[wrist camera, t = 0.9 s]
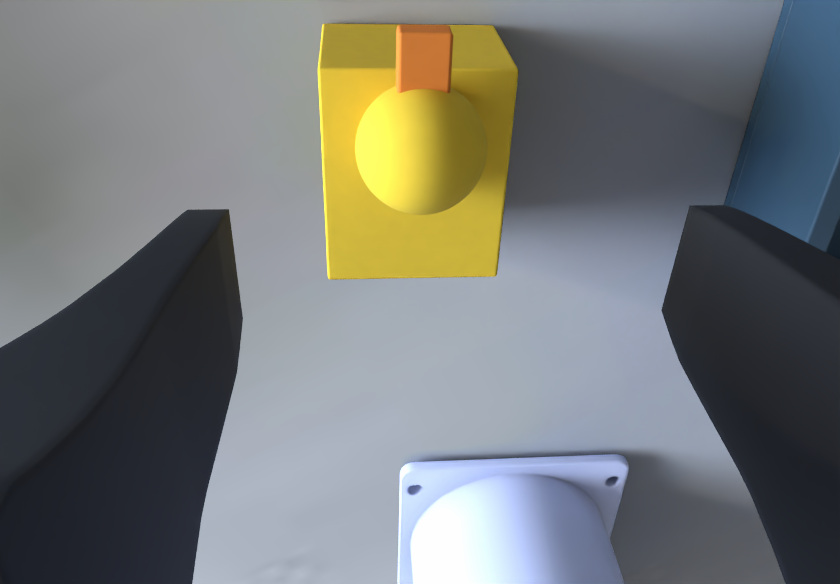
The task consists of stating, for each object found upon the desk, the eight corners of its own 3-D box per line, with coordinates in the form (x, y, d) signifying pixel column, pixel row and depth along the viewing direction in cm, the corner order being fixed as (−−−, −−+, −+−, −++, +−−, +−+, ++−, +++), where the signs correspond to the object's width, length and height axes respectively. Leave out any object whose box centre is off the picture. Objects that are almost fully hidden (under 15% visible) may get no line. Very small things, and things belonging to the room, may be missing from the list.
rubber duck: (477, 212, 20) (514, 334, 16) (330, 214, 20) (325, 339, 16) (498, -21, 17) (550, 52, 12) (320, -24, 17) (309, 51, 12)
